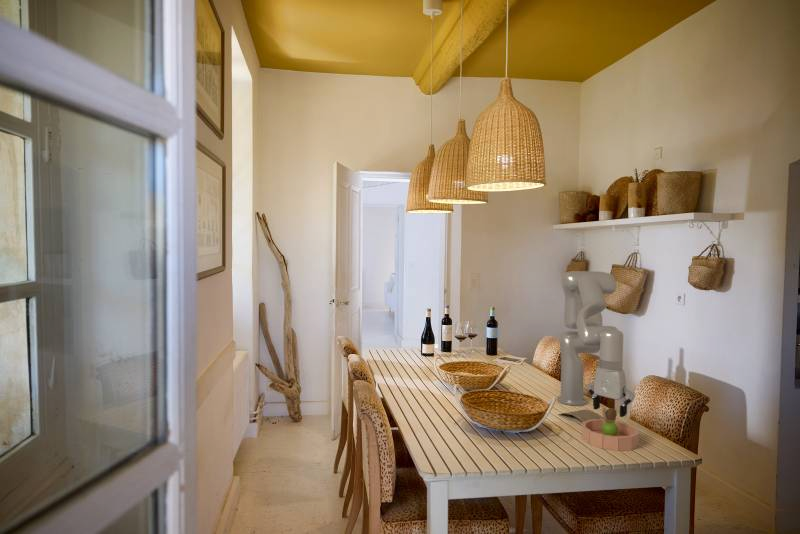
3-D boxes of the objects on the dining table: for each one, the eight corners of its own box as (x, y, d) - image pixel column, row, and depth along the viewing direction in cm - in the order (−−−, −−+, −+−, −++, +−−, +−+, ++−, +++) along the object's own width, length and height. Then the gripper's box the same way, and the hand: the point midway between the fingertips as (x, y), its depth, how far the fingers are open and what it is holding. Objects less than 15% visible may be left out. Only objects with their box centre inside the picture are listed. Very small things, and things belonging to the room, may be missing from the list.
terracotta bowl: (598, 427, 190) (598, 415, 190) (647, 442, 176) (647, 429, 176) (571, 438, 179) (572, 426, 179) (622, 455, 164) (622, 441, 164)
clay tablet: (608, 423, 197) (608, 416, 197) (588, 428, 191) (588, 420, 191) (575, 412, 211) (575, 405, 211) (556, 416, 205) (556, 408, 205)
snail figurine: (596, 435, 179) (596, 402, 179) (610, 433, 181) (610, 400, 181) (607, 441, 174) (607, 407, 174) (621, 438, 176) (622, 405, 176)
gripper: (582, 361, 181) (581, 408, 182) (629, 371, 168) (628, 421, 169) (593, 358, 186) (592, 404, 187) (640, 368, 172) (638, 416, 173)
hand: (609, 412), depth 178 cm, fingers open, 9 cm apart
